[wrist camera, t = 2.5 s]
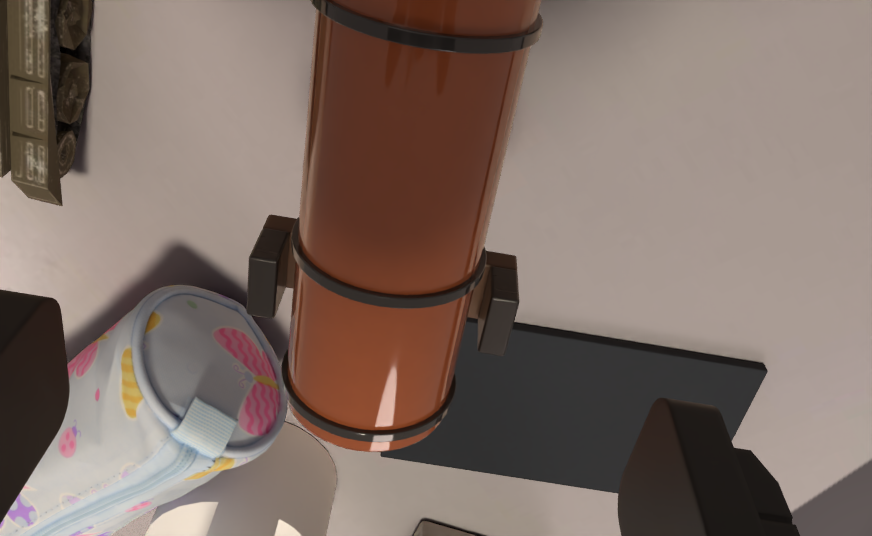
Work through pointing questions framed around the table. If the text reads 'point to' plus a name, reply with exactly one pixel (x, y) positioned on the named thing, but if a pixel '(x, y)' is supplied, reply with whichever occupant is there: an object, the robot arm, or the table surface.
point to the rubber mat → (571, 404)
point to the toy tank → (42, 91)
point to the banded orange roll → (397, 207)
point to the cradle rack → (488, 305)
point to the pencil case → (154, 415)
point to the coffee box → (437, 530)
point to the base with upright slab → (259, 495)
